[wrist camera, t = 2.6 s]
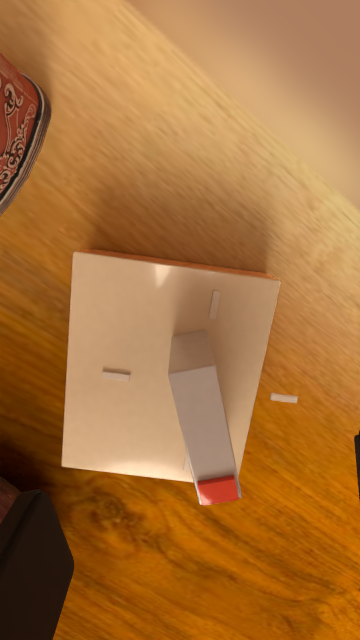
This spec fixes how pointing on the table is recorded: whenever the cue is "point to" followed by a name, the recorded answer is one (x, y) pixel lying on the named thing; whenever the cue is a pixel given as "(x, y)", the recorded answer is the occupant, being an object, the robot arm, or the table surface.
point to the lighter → (19, 129)
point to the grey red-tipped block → (203, 418)
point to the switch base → (156, 357)
